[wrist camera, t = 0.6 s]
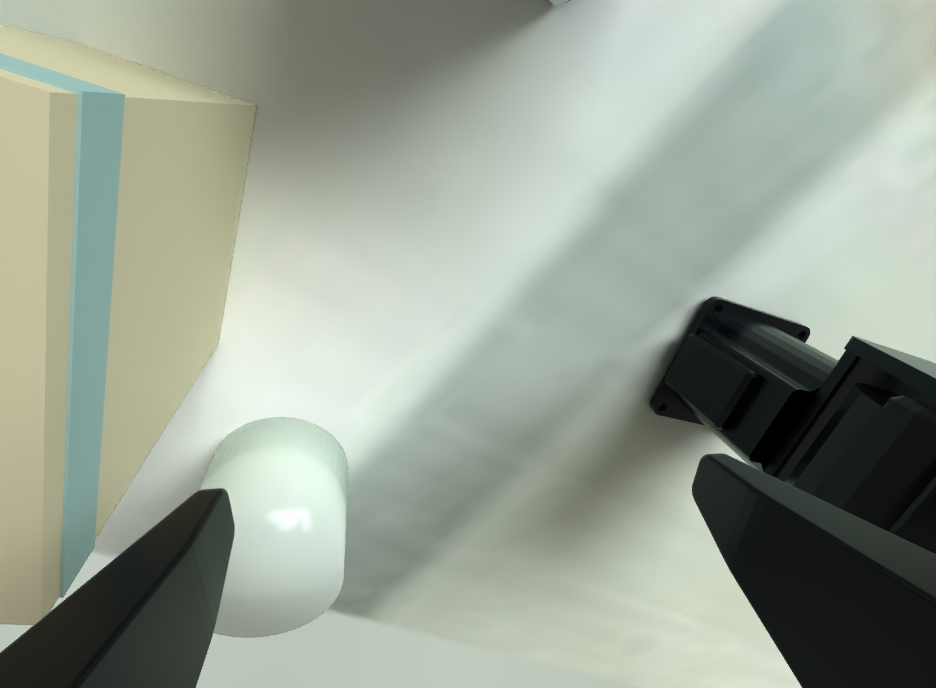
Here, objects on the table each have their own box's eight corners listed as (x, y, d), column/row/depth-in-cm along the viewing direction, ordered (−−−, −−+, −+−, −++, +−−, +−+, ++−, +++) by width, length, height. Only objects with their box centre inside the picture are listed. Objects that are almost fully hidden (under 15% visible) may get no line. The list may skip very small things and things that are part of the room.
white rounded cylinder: (361, 429, 22) (361, 528, 17) (332, 525, 24) (324, 639, 19) (221, 406, 20) (172, 509, 15) (203, 512, 23) (154, 635, 17)
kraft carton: (258, 104, 16) (55, 89, 5) (220, 343, 19) (44, 627, 9) (79, 41, 14) (-704, -155, 4) (69, 313, 18) (-370, 614, 7)
